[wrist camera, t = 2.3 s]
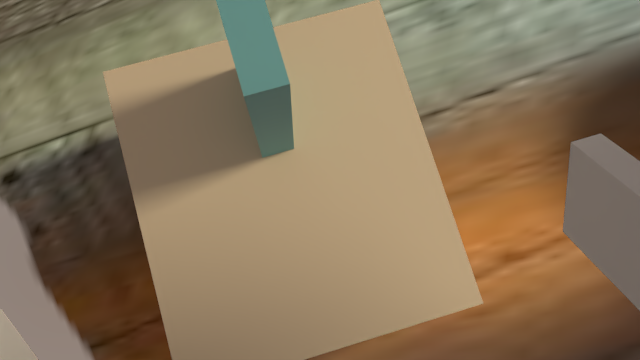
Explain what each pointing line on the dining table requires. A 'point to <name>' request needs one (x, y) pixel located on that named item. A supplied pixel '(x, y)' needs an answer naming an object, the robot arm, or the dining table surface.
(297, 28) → the flap
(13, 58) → the dining table surface
